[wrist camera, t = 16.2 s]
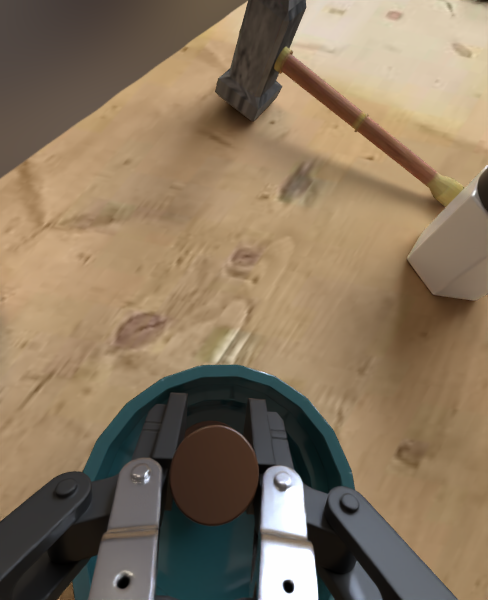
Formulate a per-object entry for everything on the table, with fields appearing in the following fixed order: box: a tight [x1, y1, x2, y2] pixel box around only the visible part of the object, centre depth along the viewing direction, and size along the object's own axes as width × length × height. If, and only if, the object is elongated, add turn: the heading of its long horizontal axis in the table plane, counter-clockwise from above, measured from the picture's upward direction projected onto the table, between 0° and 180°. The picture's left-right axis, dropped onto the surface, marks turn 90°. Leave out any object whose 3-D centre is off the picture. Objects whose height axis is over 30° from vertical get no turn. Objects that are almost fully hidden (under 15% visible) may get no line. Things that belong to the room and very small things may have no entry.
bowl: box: [72, 365, 355, 600], centre depth 21 cm, size 16×16×6 cm
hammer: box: [215, 0, 464, 207], centre depth 35 cm, size 6×16×30 cm
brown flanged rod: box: [169, 421, 259, 526], centre depth 16 cm, size 5×5×14 cm
